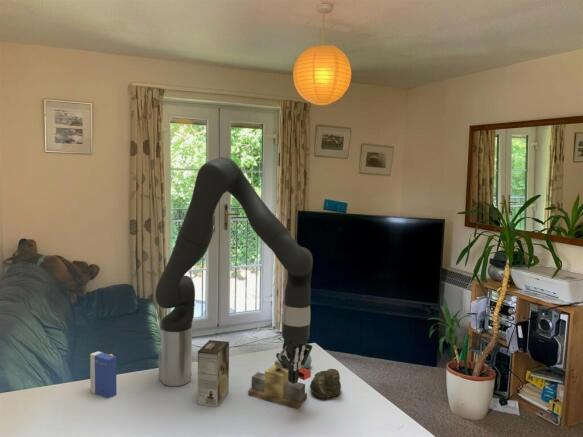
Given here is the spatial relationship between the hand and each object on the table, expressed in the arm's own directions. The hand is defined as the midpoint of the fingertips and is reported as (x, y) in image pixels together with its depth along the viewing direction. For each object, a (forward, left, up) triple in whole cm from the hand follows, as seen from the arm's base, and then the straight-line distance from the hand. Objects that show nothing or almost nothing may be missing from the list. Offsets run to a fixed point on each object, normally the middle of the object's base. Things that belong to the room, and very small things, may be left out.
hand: (293, 382), depth 123 cm
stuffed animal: (-12, +27, -10) cm, 31 cm away
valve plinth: (-8, +6, -9) cm, 14 cm away
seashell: (+3, +17, -9) cm, 19 cm away
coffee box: (-24, -4, -9) cm, 26 cm away
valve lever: (-3, +5, -1) cm, 5 cm away
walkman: (-54, -17, -9) cm, 57 cm away
